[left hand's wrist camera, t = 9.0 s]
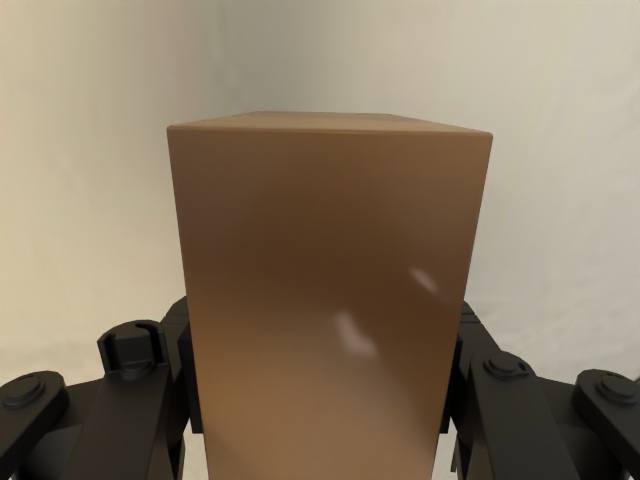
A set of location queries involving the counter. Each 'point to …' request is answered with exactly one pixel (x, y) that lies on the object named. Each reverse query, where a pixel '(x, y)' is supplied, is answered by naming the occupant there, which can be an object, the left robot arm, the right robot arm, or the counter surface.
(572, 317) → the counter surface
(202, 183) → the post
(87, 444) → the left robot arm
